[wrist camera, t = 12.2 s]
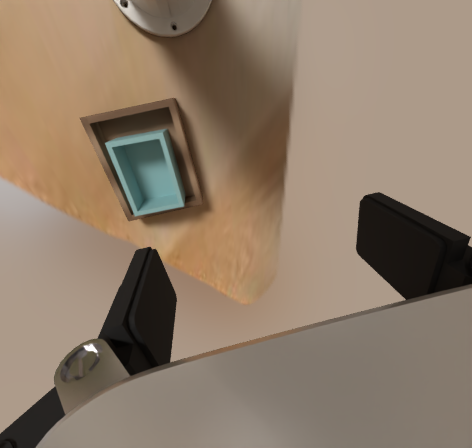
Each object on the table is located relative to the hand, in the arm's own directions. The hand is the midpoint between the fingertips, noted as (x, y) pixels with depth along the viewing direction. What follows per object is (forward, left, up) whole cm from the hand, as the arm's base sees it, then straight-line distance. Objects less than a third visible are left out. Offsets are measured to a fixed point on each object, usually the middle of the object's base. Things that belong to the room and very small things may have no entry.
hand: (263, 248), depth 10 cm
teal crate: (+1, -10, -28) cm, 29 cm away
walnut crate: (0, -10, -28) cm, 30 cm away
